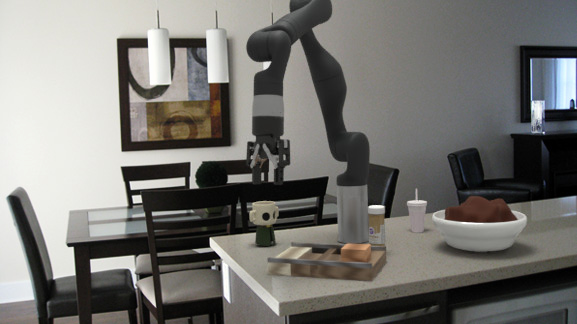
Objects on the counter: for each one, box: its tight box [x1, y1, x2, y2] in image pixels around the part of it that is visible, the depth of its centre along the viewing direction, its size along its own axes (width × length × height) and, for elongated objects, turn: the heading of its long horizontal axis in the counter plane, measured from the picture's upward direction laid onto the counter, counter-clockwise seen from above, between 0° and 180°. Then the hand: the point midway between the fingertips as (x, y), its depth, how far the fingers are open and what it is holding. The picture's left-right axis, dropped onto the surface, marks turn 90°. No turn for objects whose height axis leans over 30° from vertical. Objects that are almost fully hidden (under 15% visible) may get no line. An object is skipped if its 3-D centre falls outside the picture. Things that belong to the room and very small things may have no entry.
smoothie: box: [406, 188, 428, 234], centre depth 185 cm, size 6×6×14 cm
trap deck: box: [267, 241, 387, 282], centre depth 146 cm, size 26×18×4 cm
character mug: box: [249, 200, 279, 247], centre depth 174 cm, size 11×7×13 cm, turn 131°
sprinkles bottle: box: [368, 204, 386, 246], centre depth 157 cm, size 5×5×14 cm
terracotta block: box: [341, 243, 371, 263], centre depth 140 cm, size 6×6×4 cm
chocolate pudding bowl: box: [431, 195, 528, 253], centre depth 160 cm, size 25×25×15 cm
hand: (267, 184), depth 136 cm, fingers open, 8 cm apart
